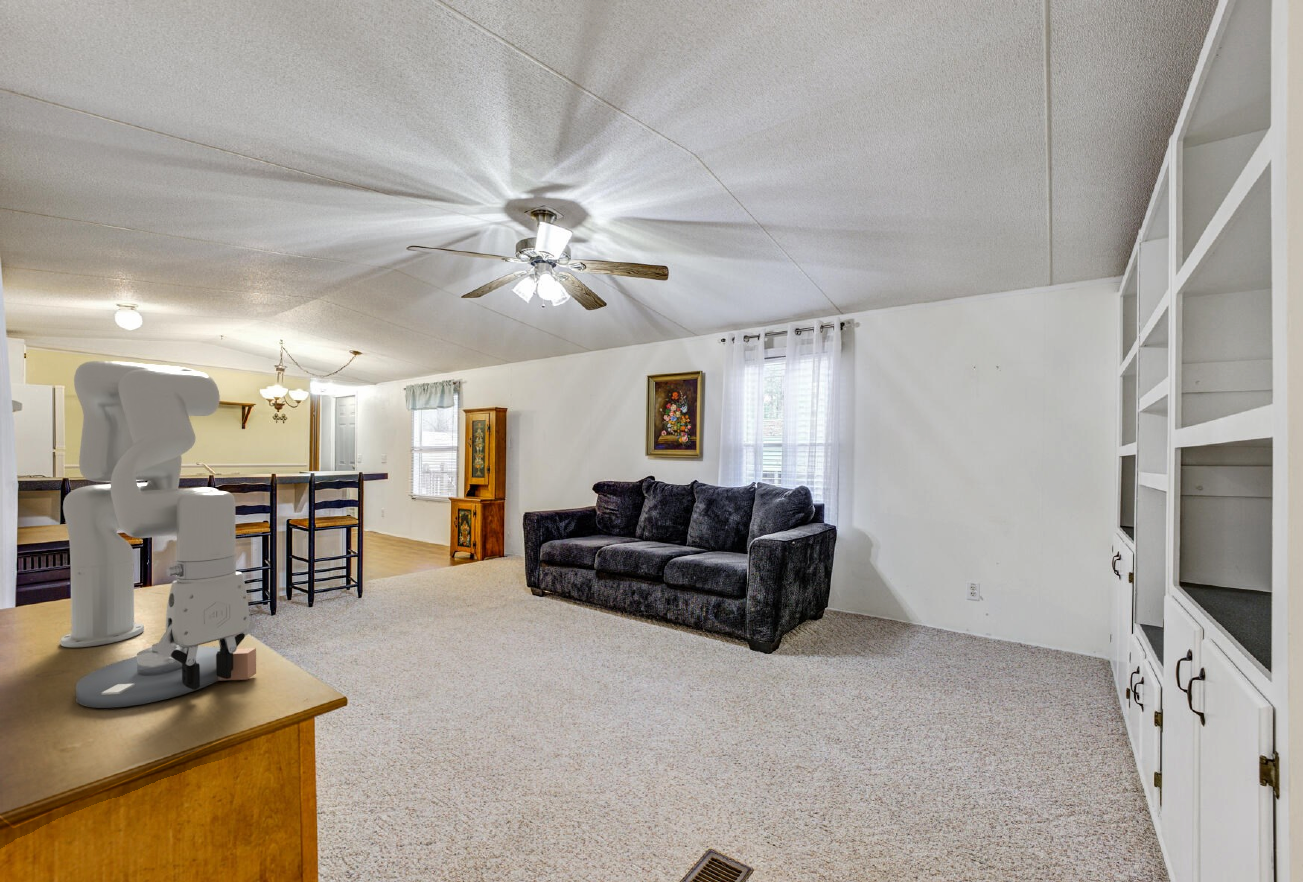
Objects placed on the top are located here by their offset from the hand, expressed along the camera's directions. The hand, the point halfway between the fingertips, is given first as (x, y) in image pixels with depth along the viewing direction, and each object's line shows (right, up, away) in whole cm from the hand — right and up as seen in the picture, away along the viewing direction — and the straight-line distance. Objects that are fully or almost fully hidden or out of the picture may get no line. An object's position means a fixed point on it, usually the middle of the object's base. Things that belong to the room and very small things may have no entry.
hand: (208, 681), depth 94 cm
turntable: (-9, -1, +4) cm, 10 cm away
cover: (-11, +1, +4) cm, 11 cm away
